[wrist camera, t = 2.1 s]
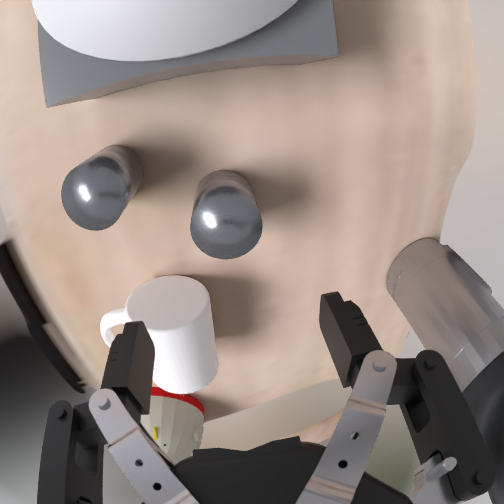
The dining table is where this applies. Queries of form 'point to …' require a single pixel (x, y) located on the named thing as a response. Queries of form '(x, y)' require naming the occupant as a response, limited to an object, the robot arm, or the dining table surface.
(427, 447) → the robot arm
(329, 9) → the scale
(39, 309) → the dining table surface
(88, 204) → the cylinder
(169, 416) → the kitchen timer
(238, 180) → the cylinder
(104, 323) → the mug
